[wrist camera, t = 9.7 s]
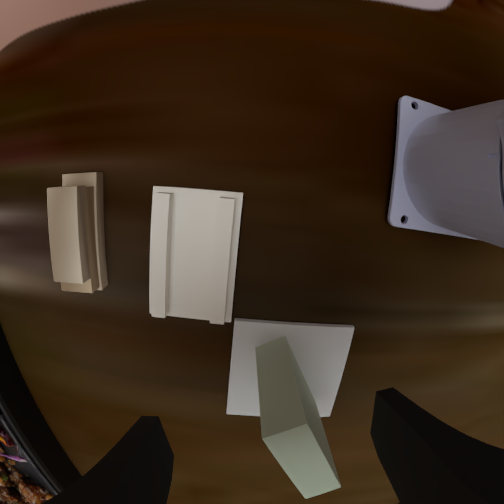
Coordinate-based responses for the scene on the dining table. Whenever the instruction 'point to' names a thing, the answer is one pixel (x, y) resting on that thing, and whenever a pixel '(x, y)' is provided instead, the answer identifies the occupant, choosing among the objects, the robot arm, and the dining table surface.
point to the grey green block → (293, 420)
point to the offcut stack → (78, 232)
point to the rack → (193, 252)
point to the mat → (305, 351)
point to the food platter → (27, 442)
